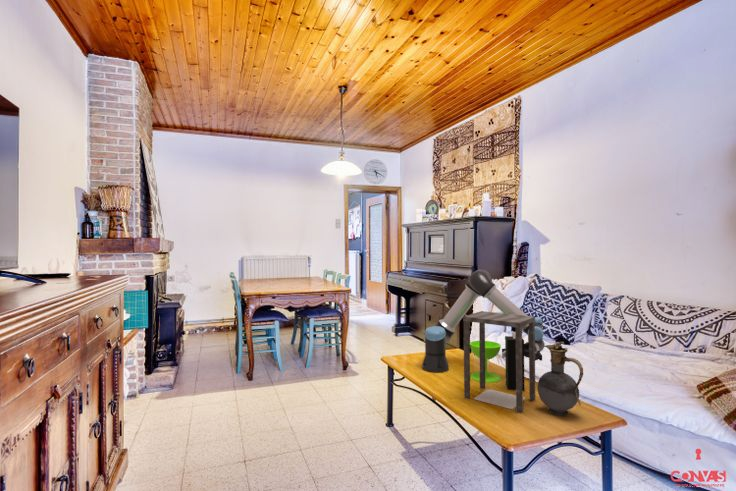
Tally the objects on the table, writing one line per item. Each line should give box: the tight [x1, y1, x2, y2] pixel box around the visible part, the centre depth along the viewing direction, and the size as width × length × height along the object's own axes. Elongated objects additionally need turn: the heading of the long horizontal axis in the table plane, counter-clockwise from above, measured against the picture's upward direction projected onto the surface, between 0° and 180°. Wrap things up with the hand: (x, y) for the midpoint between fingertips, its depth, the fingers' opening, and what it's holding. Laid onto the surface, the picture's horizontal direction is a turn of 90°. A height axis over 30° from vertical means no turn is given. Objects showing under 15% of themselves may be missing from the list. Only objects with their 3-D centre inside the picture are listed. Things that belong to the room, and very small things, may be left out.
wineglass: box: [470, 340, 502, 384], centre depth 210 cm, size 16×16×18 cm
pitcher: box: [536, 341, 584, 417], centre depth 164 cm, size 11×19×30 cm, turn 27°
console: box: [462, 310, 536, 414], centre depth 180 cm, size 26×20×38 cm
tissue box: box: [504, 330, 526, 392], centre depth 195 cm, size 8×8×28 cm
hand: (516, 357), depth 195 cm, fingers open, 13 cm apart
